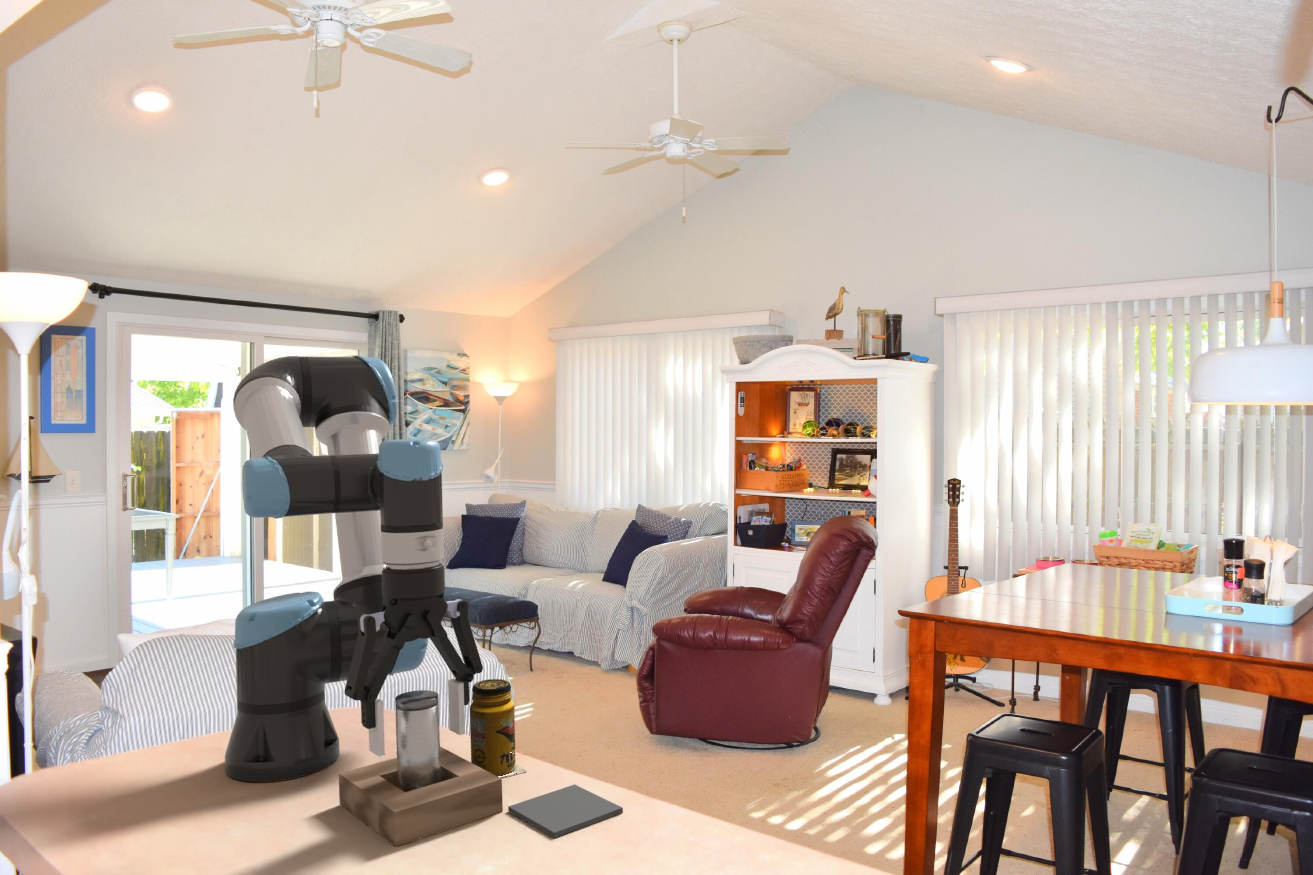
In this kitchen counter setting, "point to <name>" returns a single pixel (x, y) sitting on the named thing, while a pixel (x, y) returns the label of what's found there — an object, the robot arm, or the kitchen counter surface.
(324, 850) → the kitchen counter surface
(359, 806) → the housing
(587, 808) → the mat
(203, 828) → the kitchen counter surface
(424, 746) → the plug
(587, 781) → the kitchen counter surface
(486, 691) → the condiment
